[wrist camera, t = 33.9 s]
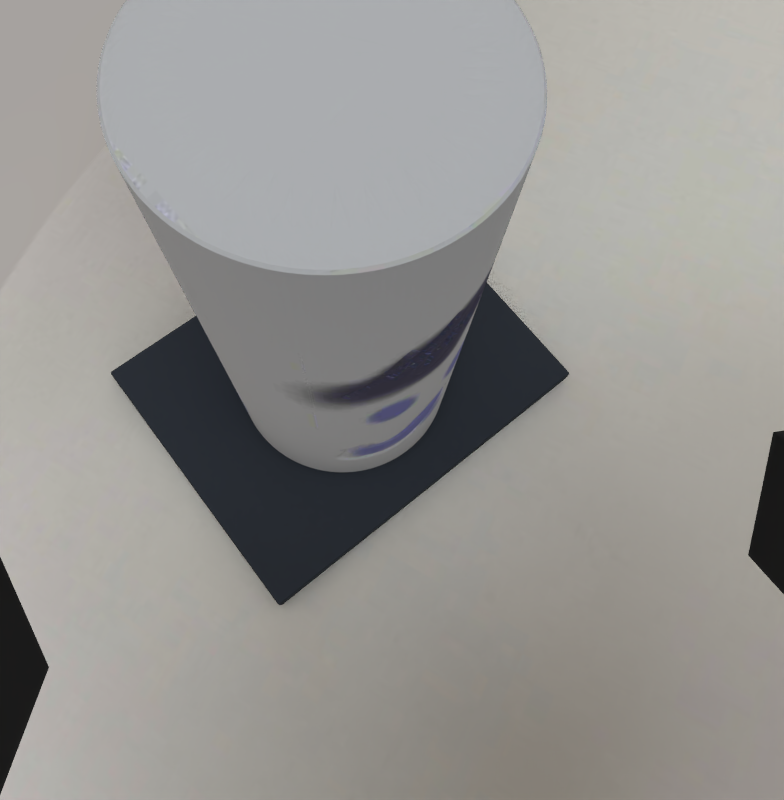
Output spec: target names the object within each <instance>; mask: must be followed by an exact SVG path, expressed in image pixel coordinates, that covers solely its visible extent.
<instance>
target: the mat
mask: <svg viewBox="0 0 784 800" xmlns="http://www.w3.org/2000/svg"><path fill="white" fill-rule="evenodd" d="M111 374H112V376H113V377H114V378H115V380H116V381H117V383H118V384H119V385H120V387H121V388H122V389H123V391H124V392H125V394H126V395H127V396H128V398H129V399H130V400H131V402H132V403H133V405H134V406H135V407H136V409H137V410H138V412H139V413H140V414H141V416H142V417H143V418H144V420H145V421H146V423H147V424H148V425H149V427H150V428H151V429H152V431H153V432H154V434H155V435H156V436H157V438H158V439H159V440H160V442H161V443H162V445H163V446H164V447H165V449H166V450H167V451H168V453H169V454H170V456H171V457H172V458H173V460H174V461H175V463H176V464H177V465H178V467H179V468H180V469H181V471H182V472H183V474H184V475H185V476H186V478H187V479H188V480H189V482H190V483H191V485H192V486H193V487H194V489H195V490H196V491H197V493H198V494H199V496H200V497H201V498H202V500H203V501H204V503H205V504H206V505H207V507H208V508H209V509H210V511H211V512H212V514H213V515H214V516H215V518H216V519H217V520H218V522H219V523H220V525H221V526H222V527H223V529H224V530H225V531H226V533H227V534H228V536H229V537H230V538H231V540H232V541H233V543H234V544H235V545H236V547H237V548H238V549H239V551H240V552H241V554H242V555H243V556H244V558H245V559H246V560H247V562H248V563H249V565H250V566H251V567H252V569H253V570H254V571H255V573H256V574H257V576H258V577H259V578H260V580H261V581H262V582H263V584H264V585H265V587H266V588H267V589H268V591H269V592H270V594H271V595H272V596H273V598H274V599H275V600H276V602H277V603H278V604H279V605H282V604H284V603H285V602H286V601H287V600H289V599H290V598H291V597H292V596H294V595H295V594H296V593H297V592H299V591H300V590H301V589H302V588H304V587H305V586H306V585H307V584H309V583H310V582H311V581H312V580H314V579H315V578H316V577H317V576H319V575H320V574H321V573H322V572H324V571H325V570H326V569H327V568H329V567H330V566H331V565H332V564H334V563H335V562H336V561H337V560H339V559H340V558H341V557H342V556H344V555H345V554H346V553H347V552H349V551H350V550H351V549H352V548H354V547H355V546H356V545H357V544H359V543H360V542H361V541H362V540H364V539H365V538H366V537H367V536H369V535H370V534H371V533H372V532H374V531H375V530H376V529H377V528H379V527H380V526H381V525H382V524H384V523H385V522H386V521H387V520H389V519H390V518H391V517H392V516H394V515H395V514H396V513H398V512H399V511H400V510H401V509H403V508H404V507H405V506H406V505H408V504H409V503H410V502H411V501H413V500H414V499H415V498H416V497H418V496H419V495H420V494H421V493H423V492H424V491H425V490H426V489H428V488H429V487H430V486H431V485H433V484H434V483H435V482H436V481H438V480H439V479H440V478H441V477H443V476H444V475H445V474H446V473H448V472H449V471H450V470H451V469H453V468H454V467H455V466H456V465H458V464H459V463H460V462H461V461H463V460H464V459H465V458H466V457H468V456H469V455H470V454H471V453H473V452H474V451H475V450H476V449H478V448H479V447H480V446H481V445H483V444H484V443H485V442H486V441H488V440H489V439H490V438H491V437H493V436H494V435H495V434H496V433H498V432H499V431H500V430H501V429H503V428H504V427H505V426H506V425H508V424H509V423H510V422H511V421H513V420H514V419H515V418H516V417H518V416H519V415H520V414H521V413H523V412H524V411H525V410H526V409H528V408H529V407H530V406H531V405H533V404H534V403H535V402H536V401H538V400H539V399H540V398H541V397H543V396H544V395H545V394H546V393H548V392H549V391H550V390H551V389H553V388H554V387H555V386H556V385H558V384H559V383H560V382H561V381H563V380H564V379H565V378H566V377H567V376H568V374H569V372H568V371H567V370H566V369H565V368H564V367H563V366H562V365H561V363H560V362H559V361H558V360H557V359H556V358H555V357H554V356H553V355H552V354H551V352H550V351H549V350H548V349H547V348H546V347H545V346H544V345H543V344H542V343H541V342H540V340H539V339H538V338H537V337H536V336H535V335H534V334H533V333H532V332H531V331H530V329H529V328H528V327H527V326H526V325H525V324H524V323H523V322H522V321H521V320H520V319H519V317H518V316H517V315H516V314H515V313H514V312H513V311H512V310H511V309H510V308H509V306H508V305H507V304H506V303H505V302H504V301H503V300H502V299H501V298H500V297H499V296H498V294H497V293H496V292H495V291H494V290H493V289H492V288H491V287H490V286H489V285H488V283H487V282H486V285H485V287H484V290H483V293H482V295H481V298H480V301H479V303H478V306H477V308H476V311H475V314H474V316H473V319H472V322H471V324H470V327H469V330H468V332H467V335H466V338H465V340H464V343H463V345H462V348H461V351H460V353H459V356H458V359H457V361H456V364H455V367H454V369H453V372H452V375H451V377H450V380H449V382H448V385H447V388H446V390H445V393H444V396H443V398H442V401H441V404H440V406H439V409H438V411H437V414H436V416H435V418H434V420H433V422H432V423H431V425H430V426H429V428H428V429H427V431H426V432H425V433H424V435H423V436H422V437H421V438H420V439H419V440H418V441H417V442H416V443H415V444H414V445H413V446H412V447H411V448H410V449H409V450H407V451H406V452H405V453H403V454H402V455H400V456H399V457H397V458H395V459H393V460H391V461H390V462H387V463H385V464H383V465H380V466H377V467H374V468H371V469H367V470H362V471H356V472H329V471H322V470H318V469H314V468H310V467H307V466H305V465H302V464H300V463H297V462H295V461H293V460H291V459H290V458H288V457H286V456H285V455H283V454H282V453H280V452H279V451H278V450H277V449H275V448H274V447H273V446H272V445H271V444H270V443H269V442H268V441H267V440H266V439H265V438H264V437H263V436H262V434H261V433H260V432H259V431H258V429H257V428H256V426H255V424H254V423H253V421H252V419H251V417H250V415H249V414H248V412H247V410H246V408H245V406H244V404H243V402H242V400H241V399H240V397H239V395H238V393H237V391H236V389H235V387H234V385H233V383H232V382H231V380H230V378H229V376H228V374H227V372H226V370H225V368H224V367H223V365H222V363H221V361H220V359H219V357H218V355H217V353H216V352H215V350H214V348H213V346H212V344H211V342H210V340H209V338H208V336H207V335H206V333H205V331H204V329H203V327H202V325H201V323H200V321H199V320H198V318H197V316H195V317H194V318H192V319H191V320H189V321H188V322H186V323H185V324H183V325H182V326H180V327H178V328H177V329H175V330H174V331H172V332H171V333H169V334H168V335H166V336H165V337H163V338H162V339H160V340H159V341H157V342H156V343H154V344H153V345H151V346H150V347H148V348H147V349H145V350H144V351H142V352H141V353H139V354H138V355H136V356H135V357H133V358H132V359H130V360H129V361H127V362H126V363H124V364H123V365H121V366H119V367H118V368H116V369H115V370H113V371H112V372H111Z"/></svg>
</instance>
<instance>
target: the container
mask: <svg viewBox="0 0 784 800" xmlns="http://www.w3.org/2000/svg"><path fill="white" fill-rule="evenodd" d="M97 106H98V113H99V119H100V124H101V128H102V132H103V135H104V138H105V141H106V144H107V146H108V149H109V151H110V153H111V156H112V158H113V160H114V162H115V164H116V165H117V167H118V169H119V171H120V173H121V175H122V177H123V179H124V181H125V182H126V184H127V186H128V188H129V190H130V192H131V194H132V196H133V197H134V199H135V201H136V203H137V205H138V207H139V209H140V211H141V212H142V214H143V216H144V218H145V220H146V222H147V224H148V226H149V227H150V229H151V231H152V233H153V235H154V237H155V239H156V241H157V243H158V244H159V246H160V248H161V250H162V252H163V254H164V256H165V258H166V259H167V261H168V263H169V265H170V267H171V269H172V271H173V273H174V274H175V276H176V278H177V280H178V282H179V284H180V286H181V288H182V290H183V291H184V293H185V295H186V297H187V299H188V301H189V303H190V305H191V306H192V308H193V310H194V312H195V314H196V316H197V318H198V320H199V321H200V323H201V325H202V327H203V329H204V331H205V333H206V335H207V336H208V338H209V340H210V342H211V344H212V346H213V348H214V350H215V352H216V353H217V355H218V357H219V359H220V361H221V363H222V365H223V367H224V368H225V370H226V372H227V374H228V376H229V378H230V380H231V382H232V383H233V385H234V387H235V389H236V391H237V393H238V395H239V397H240V399H241V400H242V402H243V404H244V406H245V408H246V410H247V412H248V414H249V415H250V417H251V419H252V421H253V423H254V424H255V426H256V428H257V429H258V431H259V432H260V433H261V434H262V436H263V437H264V438H265V439H266V440H267V441H268V442H269V443H270V444H271V445H272V446H273V447H274V448H275V449H277V450H278V451H279V452H280V453H282V454H283V455H285V456H286V457H288V458H290V459H291V460H293V461H295V462H297V463H300V464H302V465H305V466H307V467H310V468H314V469H318V470H322V471H329V472H356V471H362V470H367V469H371V468H374V467H377V466H380V465H383V464H385V463H387V462H390V461H391V460H393V459H395V458H397V457H399V456H400V455H402V454H403V453H405V452H406V451H407V450H409V449H410V448H411V447H412V446H413V445H414V444H415V443H416V442H417V441H418V440H419V439H420V438H421V437H422V436H423V435H424V433H425V432H426V431H427V429H428V428H429V426H430V425H431V423H432V422H433V420H434V418H435V416H436V414H437V411H438V409H439V406H440V404H441V401H442V398H443V396H444V393H445V390H446V388H447V385H448V382H449V380H450V377H451V375H452V372H453V369H454V367H455V364H456V361H457V359H458V356H459V353H460V351H461V348H462V345H463V343H464V340H465V338H466V335H467V332H468V330H469V327H470V324H471V322H472V319H473V316H474V314H475V311H476V308H477V306H478V303H479V301H480V298H481V295H482V293H483V290H484V287H485V285H486V282H487V279H488V277H489V274H490V271H491V269H492V266H493V264H494V261H495V258H496V256H497V253H498V250H499V248H500V245H501V242H502V240H503V237H504V234H505V232H506V229H507V227H508V224H509V221H510V219H511V216H512V213H513V211H514V208H515V205H516V203H517V200H518V197H519V195H520V192H521V190H522V187H523V184H524V182H525V179H526V176H527V174H528V171H529V168H530V166H531V163H532V160H533V158H534V155H535V153H536V150H537V147H538V144H539V142H540V138H541V135H542V131H543V127H544V122H545V116H546V108H547V82H546V73H545V67H544V62H543V58H542V54H541V51H540V48H539V45H538V42H537V39H536V37H535V34H534V32H533V30H532V28H531V26H530V24H529V22H528V20H527V18H526V16H525V15H524V13H523V11H522V10H521V8H520V7H519V5H518V4H517V3H516V1H515V0H126V1H125V3H124V4H123V6H122V7H121V9H120V10H119V12H118V14H117V16H116V17H115V19H114V21H113V23H112V25H111V28H110V30H109V32H108V34H107V37H106V40H105V43H104V46H103V49H102V53H101V57H100V62H99V67H98V75H97Z"/></svg>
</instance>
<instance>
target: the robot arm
mask: <svg viewBox="0 0 784 800" xmlns="http://www.w3.org/2000/svg"><path fill="white" fill-rule="evenodd" d="M748 555H749V556H750V558H751V559H752V560H753V561H754V562H755V563H756V564H757V565H758V566H759V567H760V569H761V570H762V571H763V572H764V573H765V574H766V575H767V576H768V577H769V579H770V580H771V581H772V582H773V583H774V584H775V585H776V586H777V587H778V588H779V590H780V591H781V592H782V593H783V594H784V431H778V432H773V437H772V442H771V447H770V452H769V457H768V461H767V466H766V471H765V476H764V481H763V486H762V491H761V496H760V500H759V505H758V510H757V515H756V520H755V525H754V530H753V535H752V539H751V544H750V549H749V554H748ZM48 668H49V666H48V664H47V662H46V660H45V657H44V655H43V653H42V651H41V648H40V646H39V644H38V641H37V639H36V637H35V635H34V632H33V630H32V628H31V626H30V623H29V621H28V619H27V617H26V614H25V612H24V610H23V607H22V605H21V603H20V601H19V598H18V596H17V594H16V592H15V589H14V587H13V585H12V583H11V580H10V578H9V576H8V573H7V571H6V569H5V567H4V564H3V562H2V560H1V558H0V794H1V791H2V788H3V786H4V783H5V781H6V778H7V775H8V773H9V770H10V767H11V765H12V762H13V760H14V757H15V754H16V752H17V749H18V747H19V744H20V741H21V739H22V736H23V733H24V731H25V728H26V726H27V723H28V720H29V718H30V715H31V712H32V710H33V707H34V705H35V702H36V699H37V697H38V694H39V692H40V689H41V686H42V684H43V681H44V678H45V676H46V673H47V671H48Z"/></svg>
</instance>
